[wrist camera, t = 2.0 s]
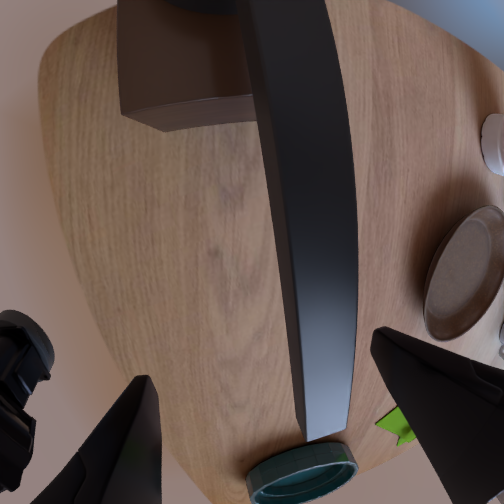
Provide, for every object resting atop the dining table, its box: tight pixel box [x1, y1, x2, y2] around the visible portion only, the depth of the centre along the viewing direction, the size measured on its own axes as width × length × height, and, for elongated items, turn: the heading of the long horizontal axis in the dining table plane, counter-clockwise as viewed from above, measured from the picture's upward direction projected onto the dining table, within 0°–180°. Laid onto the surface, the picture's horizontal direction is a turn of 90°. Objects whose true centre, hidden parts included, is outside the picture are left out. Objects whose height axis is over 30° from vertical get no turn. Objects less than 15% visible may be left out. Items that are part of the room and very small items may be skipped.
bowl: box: [245, 442, 359, 504], centre depth 31 cm, size 15×15×4 cm
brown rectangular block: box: [117, 0, 257, 132], centre depth 11 cm, size 6×6×10 cm
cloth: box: [375, 406, 416, 447], centre depth 33 cm, size 20×22×2 cm
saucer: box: [423, 205, 504, 342], centre depth 24 cm, size 15×15×3 cm
